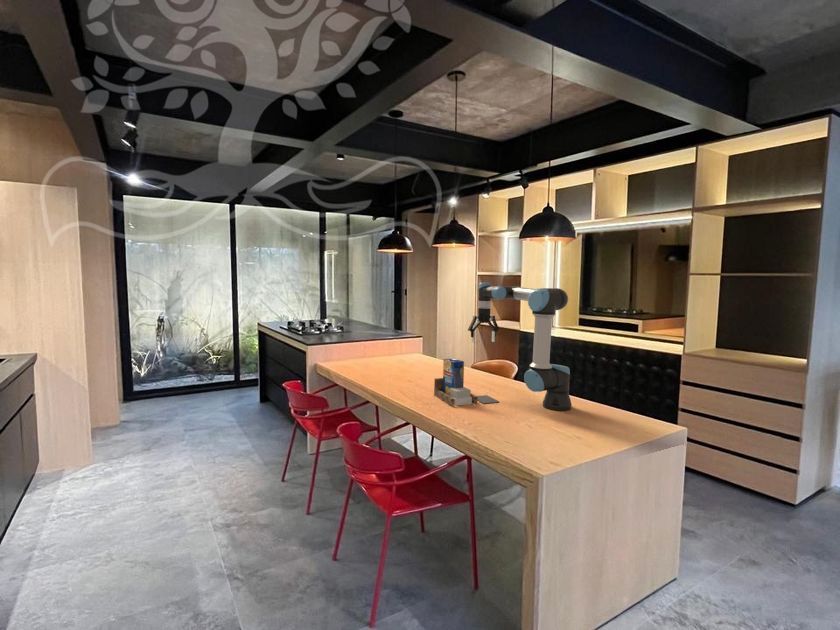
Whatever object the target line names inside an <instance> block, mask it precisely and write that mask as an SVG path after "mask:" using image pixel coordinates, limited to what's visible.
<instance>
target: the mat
mask: <svg viewBox="0 0 840 630" xmlns="http://www.w3.org/2000/svg"><path fill="white" fill-rule="evenodd" d="M476 396H477V397H478V401H477V402H479V403H481V404H483V405H487V404H488V405H489V404H497V403H498V404H499V403H500V401H499V400H497V399H495V398H494V397H492V396H490V395H488V394H484V395H476Z"/></svg>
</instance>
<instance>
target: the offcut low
mask: <svg viewBox="0 0 840 630" xmlns="http://www.w3.org/2000/svg"><path fill="white" fill-rule="evenodd" d="M450 397H452V396H450ZM452 398H454V397H452ZM472 404H473V403H472V397H466V398H459V399H456V398H454V406H465V405H472Z"/></svg>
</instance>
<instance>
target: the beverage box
mask: <svg viewBox="0 0 840 630" xmlns="http://www.w3.org/2000/svg"><path fill="white" fill-rule="evenodd" d="M442 364H443V365H442V375H443V376H442V378H443V392H444V393H445V394H447V395H449V396H451V389H455V388H463V387H464V381H465V379H464V377H465V375H464V373H465V361H464V360H460V359H456V358H452V357H451V358H444V359H443V362H442Z"/></svg>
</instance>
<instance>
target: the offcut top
mask: <svg viewBox="0 0 840 630" xmlns="http://www.w3.org/2000/svg"><path fill="white" fill-rule="evenodd" d="M470 393H471V389H469V388H467V387H465V386H463V388H455V389H451V396H452V397H454V398H456V399H459V398H466V397H470Z"/></svg>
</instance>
